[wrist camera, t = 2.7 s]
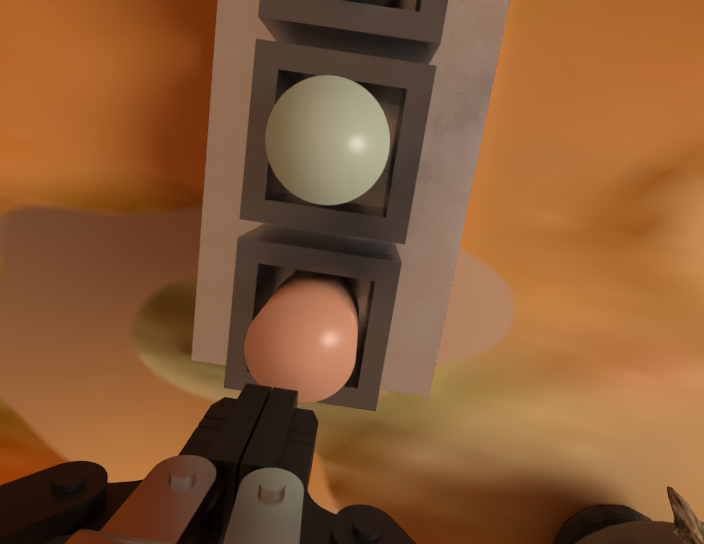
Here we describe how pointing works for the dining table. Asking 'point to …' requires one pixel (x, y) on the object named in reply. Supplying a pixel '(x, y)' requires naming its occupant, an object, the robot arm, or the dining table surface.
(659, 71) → the dining table surface
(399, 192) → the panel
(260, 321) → the brown egg
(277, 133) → the pale green egg
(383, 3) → the cream white egg
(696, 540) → the pitcher
